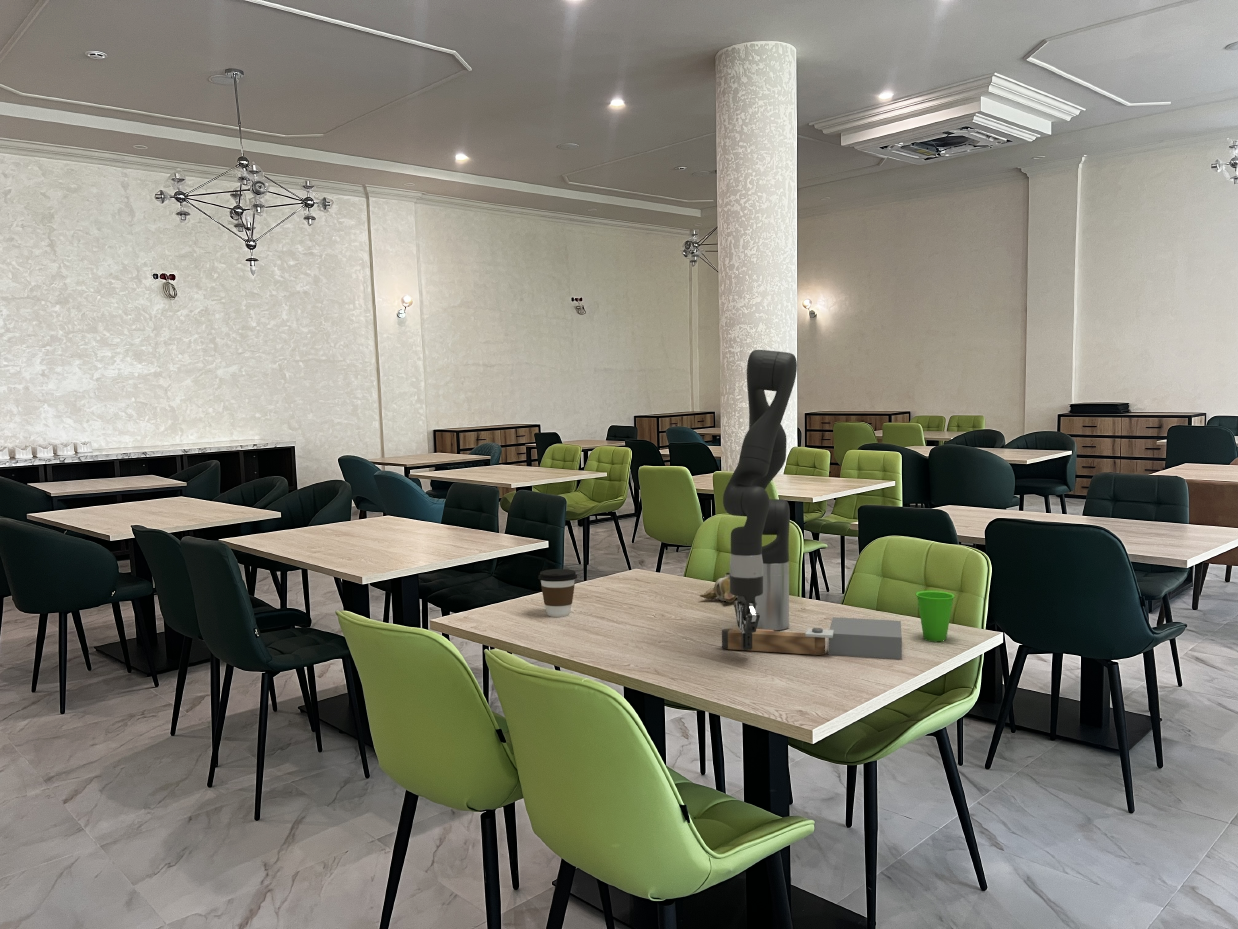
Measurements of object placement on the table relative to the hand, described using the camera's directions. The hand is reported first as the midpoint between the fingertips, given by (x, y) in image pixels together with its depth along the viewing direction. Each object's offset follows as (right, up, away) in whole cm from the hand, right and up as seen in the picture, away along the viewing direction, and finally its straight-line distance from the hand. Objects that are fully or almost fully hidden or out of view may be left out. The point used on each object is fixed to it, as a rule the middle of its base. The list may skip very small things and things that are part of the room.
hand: (746, 648), depth 201 cm
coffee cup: (-46, 0, +46) cm, 65 cm away
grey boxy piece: (+20, -1, +9) cm, 22 cm away
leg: (+7, -1, +6) cm, 9 cm away
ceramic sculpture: (+3, +1, +61) cm, 61 cm away
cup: (+48, -1, +14) cm, 50 cm away
